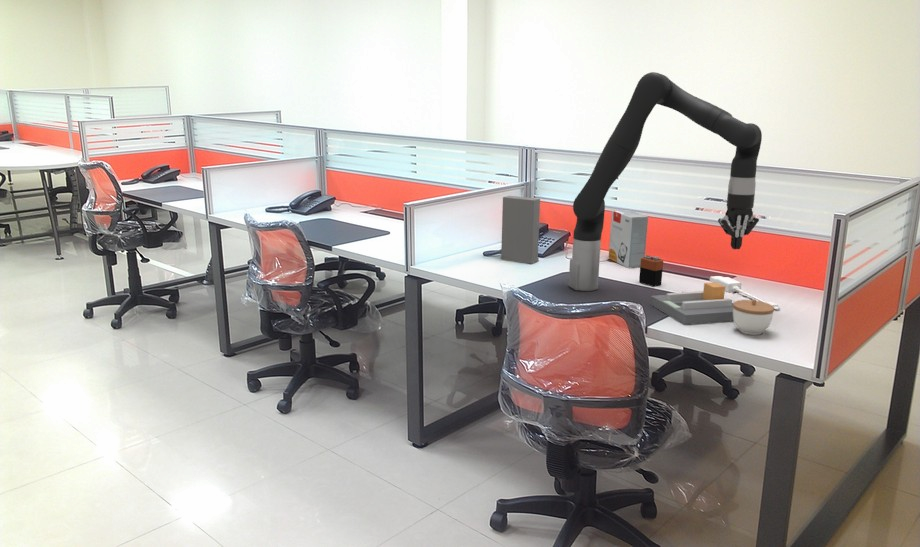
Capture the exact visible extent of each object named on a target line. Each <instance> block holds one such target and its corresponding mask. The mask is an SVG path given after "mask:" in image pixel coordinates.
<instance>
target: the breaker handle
mask: <svg viewBox="0 0 920 547" xmlns="http://www.w3.org/2000/svg"><path fill="white" fill-rule="evenodd" d="M702 291H703V299H705V300H716V299H725V293H726V291H725V286H723V285H721V284H718V283H716V282H704V283H703V290H702Z"/></svg>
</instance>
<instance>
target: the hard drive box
mask: <svg viewBox="0 0 920 547" xmlns="http://www.w3.org/2000/svg"><path fill="white" fill-rule="evenodd" d="M648 223H649V216H648V215H644V214H642V213H639V212H636V211H633V210H630V209H614V210H613V209H612V210H611V216H610V230H609V232H610V233H609V245H608V249H609V250H608V259H609V260H611V261H613V262H615V263H617V264H619V265H621V266H623V267H625V268H627V269H630V268H640V264H641V258H643V257H646V246H647V237H648V235H647V234H648Z"/></svg>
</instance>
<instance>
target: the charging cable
mask: <svg viewBox="0 0 920 547" xmlns="http://www.w3.org/2000/svg"><path fill="white" fill-rule="evenodd" d="M709 282H710V283H713V282H716V283H718V284H721V285H723V286H725V293H736V292H737V293H738V292H740V293H741V294H744V295H745V296H748V297H751V298H752V299H755V300H756V301H760V302H764V303H767V304H770V305H772V306H773V307H774V310H776V311H780V310H781V307H779V305H778V304H777V303H775V302H773V301H765V300H763V299H761V298H759V297H756V296H755V295H754V294H751V293H748V292H746V291H745V290H742V282H740V281H738V280H736V279H734V278H731V277H728V276H726V277H725V276H722V275H715V276H714V275H713V276H710V277H709Z"/></svg>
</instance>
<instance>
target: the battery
mask: <svg viewBox="0 0 920 547" xmlns="http://www.w3.org/2000/svg"><path fill="white" fill-rule="evenodd" d="M663 267H664V259H661V258H660V256H655V255H654V256H651V255H649V254H647V255H646V254H645V257H643V258H641V264H640V267H639V279H638V282H639V283H640V284H643V285H647V286H651V287H657V286H660V285H662V280H663V279H662V278H663Z"/></svg>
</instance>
